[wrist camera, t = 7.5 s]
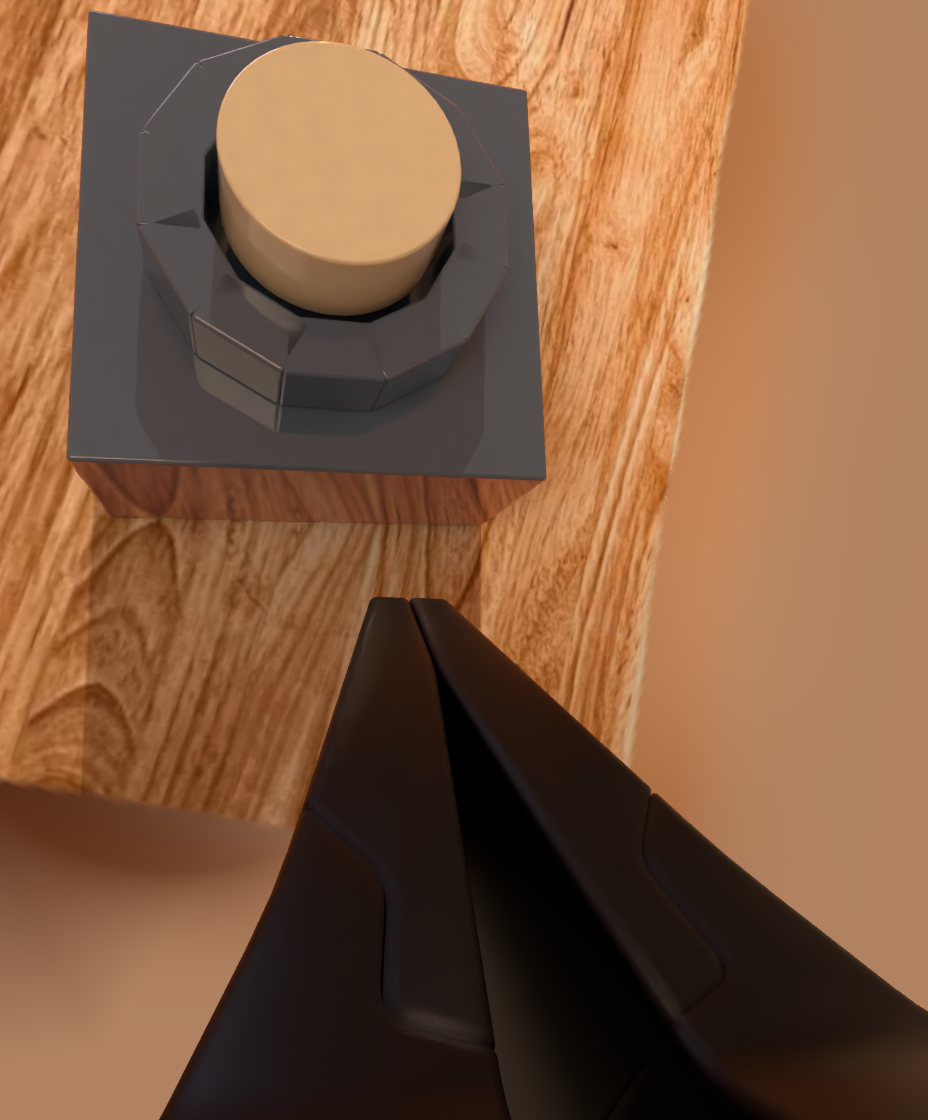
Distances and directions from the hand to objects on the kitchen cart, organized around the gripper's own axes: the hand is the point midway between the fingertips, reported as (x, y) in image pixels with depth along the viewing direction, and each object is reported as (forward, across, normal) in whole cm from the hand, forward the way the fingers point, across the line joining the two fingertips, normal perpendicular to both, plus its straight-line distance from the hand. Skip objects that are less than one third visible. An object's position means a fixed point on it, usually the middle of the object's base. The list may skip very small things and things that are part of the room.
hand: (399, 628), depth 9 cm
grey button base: (+15, 0, +2) cm, 15 cm away
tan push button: (+11, 0, -2) cm, 11 cm away
